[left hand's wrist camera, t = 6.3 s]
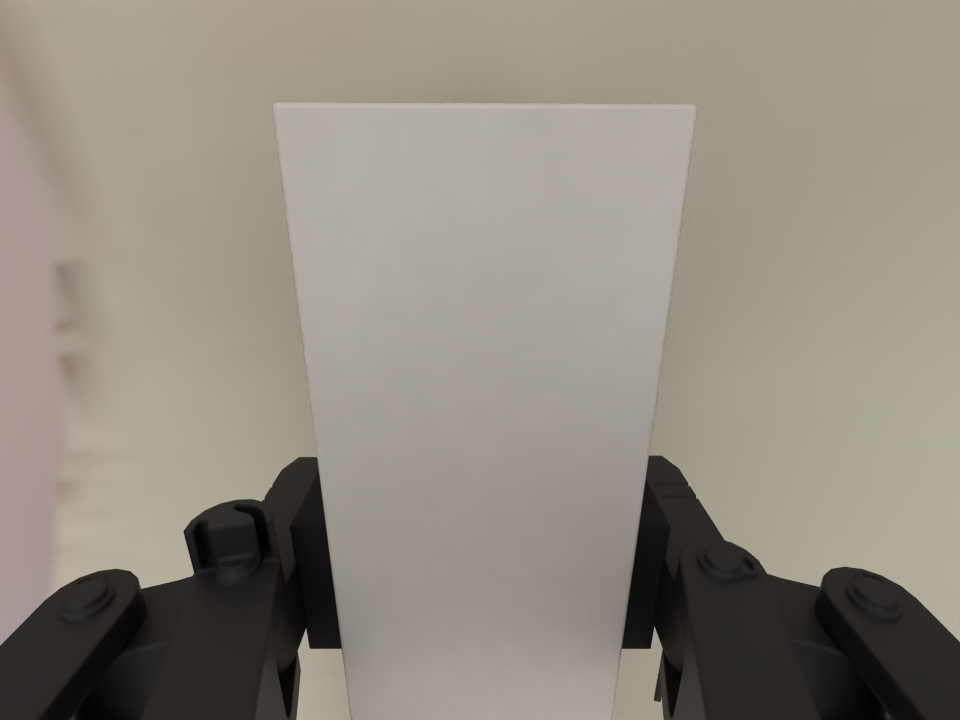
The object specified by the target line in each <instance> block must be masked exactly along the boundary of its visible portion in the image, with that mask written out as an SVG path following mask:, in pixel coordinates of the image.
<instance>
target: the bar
mask: <svg viewBox="0 0 960 720" xmlns="http://www.w3.org/2000/svg"><path fill="white" fill-rule="evenodd" d="M273 115H274V123H275V131H276V139H277V147H278V154H279V162H280V170H281V178H282V186H283V193H284V201H285V209H286V217H287V225H288V232H289V240H290V248H291V256H292V264H293V271H294V279H295V287H296V295H297V303H298V310H299V318H300V326H301V334H302V342H303V350H304V357H305V365H306V373H307V381H308V389H309V396H310V404H311V412H312V420H313V428H314V435H315V443H316V451H317V459H318V467H319V474H320V482H321V490H322V498H323V506H324V513H325V521H326V529H327V537H328V545H329V552H330V560H331V568H332V576H333V584H334V592H335V599H336V607H337V615H338V623H339V631H340V638H341V646H342V654H343V662H344V670H345V677H346V685H347V693H348V701H349V709H350V716H351V720H612V713H613V706H614V699H615V692H616V685H617V678H618V671H619V664H620V657H621V650H622V642H623V635H624V628H625V621H626V614H627V607H628V600H629V593H630V586H631V578H632V571H633V564H634V557H635V550H636V543H637V536H638V529H639V522H640V514H641V507H642V500H643V493H644V486H645V479H646V472H647V465H648V458H649V450H650V443H651V436H652V429H653V422H654V415H655V408H656V401H657V394H658V386H659V379H660V372H661V365H662V358H663V351H664V344H665V337H666V330H667V322H668V315H669V308H670V301H671V294H672V287H673V280H674V273H675V266H676V259H677V251H678V244H679V237H680V230H681V223H682V216H683V209H684V202H685V195H686V187H687V180H688V173H689V166H690V159H691V152H692V145H693V138H694V131H695V123H696V116H697V107H696V106H695V105H693V104H590V103H384V102H277V103H275V104H274V105H273Z"/></svg>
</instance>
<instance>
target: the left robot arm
mask: <svg viewBox="0 0 960 720" xmlns="http://www.w3.org/2000/svg"><path fill="white" fill-rule="evenodd" d="M183 532H184V535H185V539H186V543H187V547H188V551H189V554H190V558H191V562H192V566H193V570H194V575H193V576H191V577H188V578H185V579H182V580H178V581H174V582H170V583H165V584H161V585H157V586H152V587H148V588H144V589H141V587H140V584H139V581H138V578H137V577H136V576H135V575H134V574H133V573H131V572H130V571H126V570H120V569H112V570H104V571H98V572H95V573H92V574H89V575H86V576H83V577H80V578H78V579H76V580H75V581H73V582H71V583H69V584H67V585H65V586H63V587H62V588H60V589H59V590H58V591H56V592H55V593H54V594H53V595H51V596H50V597H49V598H48V599H46V600H45V601H44V602H43V603H42V604H41V605H40V606H39V607H38V608H37V609H36V610H35V611H34V612H33V613H32V614H31V615H30V616H29V617H28V618H27V619H26V620H25V621H24V622H23V623H22V624H21V625H20V626H19V627H18V628H17V629H16V630H15V631H14V633H12V634H11V636H10V637H9V638H8V639H7V640H6V641H5V642H4V643H3V644H2V645H1V646H0V720H296V717H297V706H298V695H299V684H300V672H301V669H300V663H299V656H298V648H299V646H300V643H301V640H302V637H303V635H304V632H305V629H307V635H308V641H309V647H310V649H342V646H341V638H340V631H339V623H338V615H337V607H336V599H335V592H334V584H333V576H332V568H331V560H330V552H329V545H328V537H327V529H326V521H325V513H324V506H323V498H322V490H321V482H320V474H319V467H318V459H317V457H299V458H297V459H296V460H295V461H293V462H292V463H291V464H289V465H288V466H287V467H285V468H284V469H283V470H282V471H281V472H280V474H279V475H278V477H277V479H276V480H275V482H274V483H273V487H272V488H270V490H269V491H268V493H267V494H266V496H265V500H263V501H262V502H261V501H257V500H253V499H246V500H234V501H230V502H225V503H221V504H219V505H216V506H214V507H212V508H210V509H208V510H205V511H204V512H202V513H201V514H200V515H198V516H197V517H196V518H194V519H193V520H191V522H190V523H189V524H188V526H187V527H186V529H185V530H184V531H183ZM654 626H655V629H656V631H657V634H658V637H659V639H660V642H661V645H662V647H663V651H662V656H661V662H660V668H659V673H658V679H657V684H656V690H655V697H654V701H658V702H661V697H662V705H663V716H664V720H960V642H959V641H958V640H957V639H956V638H955V637H954V636H953V635H952V634H951V633H950V632H949V631H948V630H947V629H946V628H945V627H944V626H943V625H942V624H941V623H940V622H939V621H938V620H937V619H936V618H935V617H934V616H933V615H932V614H931V613H930V612H929V611H928V610H927V609H926V608H925V607H924V606H923V605H922V604H921V603H920V602H919V601H918V600H917V599H916V598H915V597H914V596H913V595H911V594H910V593H909V592H908V591H906V590H905V589H904V588H903V587H901V586H900V585H898V584H896V583H894V582H892V581H891V580H889V579H887V578H885V577H883V576H881V575H878V574H875V573H872V572H869V571H866V570H863V569H858V568H850V567H841V568H835V569H831V570H830V571H828V572H827V573H826V574H825V575H824V576H823V579H822V582H821V585H820V587H817V586H813V585H808V584H804V583H800V582H795V581H791V580H787V579H782V578H779V577H776V576H773V575H769V574H767V573H766V571H765V570H764V568H763V567H762V565H761V564H760V562H759V560H757V559H756V558H755V557H754V556H753V555H751V554H750V553H749V552H748V551H747V550H745V549H743V548H741V547H739V546H737V545H735V544H733V543H731V542H728V541H725V540H724V539H723V537H722V536H721V534H720V532H719V531H718V529H717V528H716V526H715V525H714V523H713V521H712V520H711V518H710V517H709V515H708V514H707V512H706V510H705V509H704V507H703V506H702V504H701V503H700V501H699V500H698V499H696V495H695V493H694V492H693V490H692V489H691V487H690V486H688V482H687V481H686V479H685V478H684V476H683V474H682V473H681V471H680V470H679V468H677V467H676V466H675V465H673V464H672V463H671V462H669V461H668V460H667V459H665V458H664V457H663V456H649V458H648V465H647V472H646V479H645V486H644V493H643V500H642V507H641V514H640V522H639V529H638V536H637V543H636V550H635V557H634V564H633V571H632V578H631V586H630V593H629V600H628V607H627V614H626V621H625V628H624V635H623V642H622V649H651V643H652V637H653V631H654Z"/></svg>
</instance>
